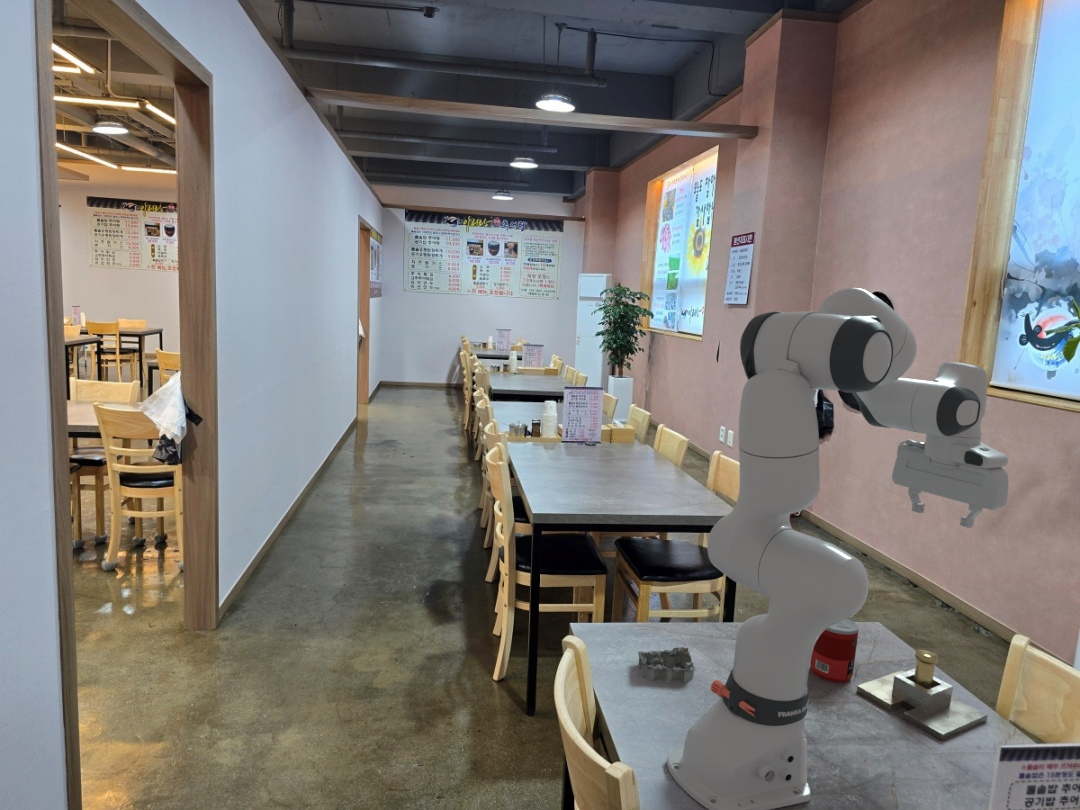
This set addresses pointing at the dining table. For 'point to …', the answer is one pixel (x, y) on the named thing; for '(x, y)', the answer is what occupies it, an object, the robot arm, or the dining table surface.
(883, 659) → the dining table surface
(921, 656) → the hinge pin
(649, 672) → the egg carton
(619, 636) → the dining table surface
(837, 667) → the canned food
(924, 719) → the silver plate with socket
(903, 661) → the dining table surface
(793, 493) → the robot arm
